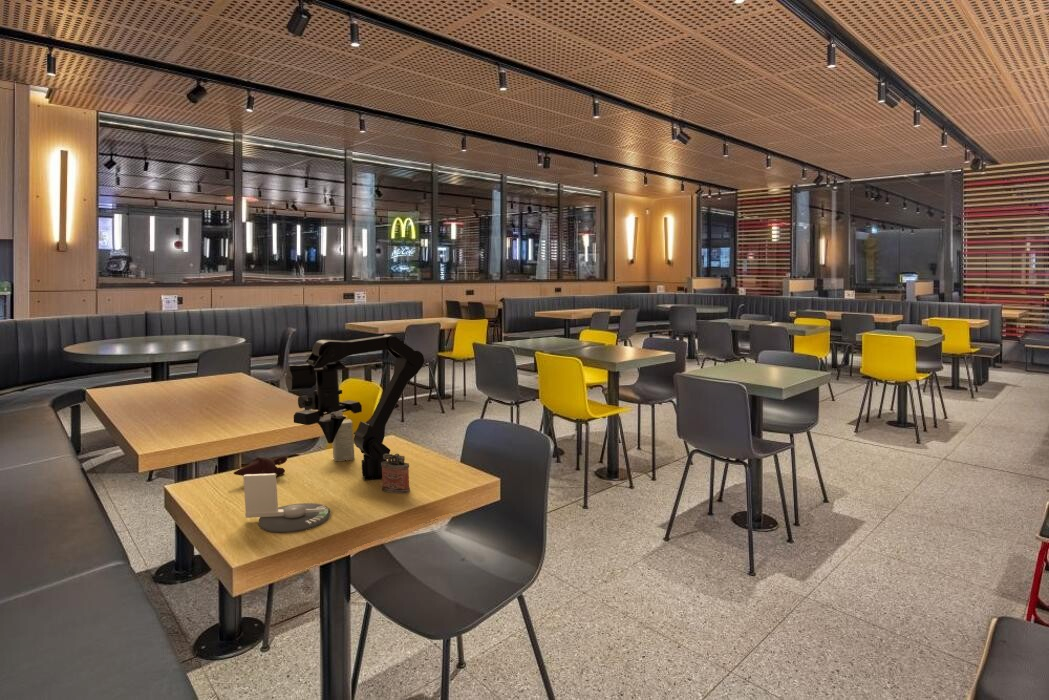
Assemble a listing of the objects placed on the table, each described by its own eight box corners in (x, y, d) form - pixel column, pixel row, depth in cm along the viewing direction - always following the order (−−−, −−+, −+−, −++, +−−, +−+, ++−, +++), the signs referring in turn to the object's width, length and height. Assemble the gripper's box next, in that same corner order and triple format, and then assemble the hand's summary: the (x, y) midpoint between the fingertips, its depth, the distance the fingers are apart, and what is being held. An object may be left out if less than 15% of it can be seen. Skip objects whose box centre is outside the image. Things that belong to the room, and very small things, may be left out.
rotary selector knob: (327, 508, 150) (325, 468, 149) (322, 516, 145) (320, 475, 144) (250, 512, 148) (247, 471, 147) (243, 520, 143) (240, 478, 142)
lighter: (412, 489, 166) (411, 453, 164) (406, 494, 163) (404, 457, 161) (386, 486, 168) (384, 451, 167) (379, 491, 165) (378, 454, 164)
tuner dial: (329, 502, 157) (329, 498, 157) (331, 527, 142) (331, 522, 142) (261, 511, 152) (261, 506, 152) (255, 537, 137) (255, 532, 137)
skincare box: (352, 456, 197) (351, 418, 195) (354, 459, 193) (353, 422, 191) (332, 458, 194) (330, 420, 193) (334, 462, 190) (332, 424, 189)
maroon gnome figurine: (241, 467, 166) (293, 459, 177) (229, 455, 170) (281, 448, 182) (237, 490, 167) (290, 481, 178) (226, 478, 172) (278, 469, 183)
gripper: (335, 379, 178) (337, 431, 180) (278, 389, 163) (282, 446, 165) (362, 382, 172) (364, 436, 174) (306, 393, 157) (309, 453, 159)
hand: (330, 443), depth 168 cm, fingers closed
